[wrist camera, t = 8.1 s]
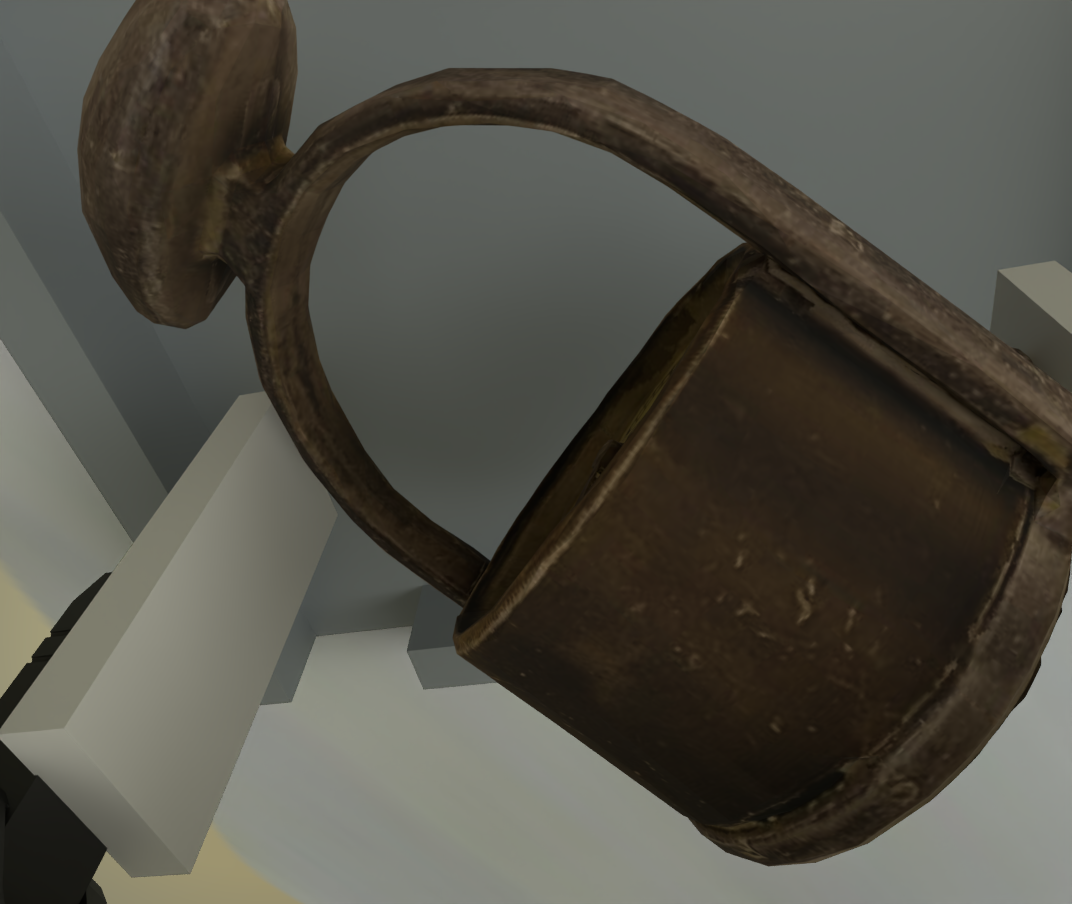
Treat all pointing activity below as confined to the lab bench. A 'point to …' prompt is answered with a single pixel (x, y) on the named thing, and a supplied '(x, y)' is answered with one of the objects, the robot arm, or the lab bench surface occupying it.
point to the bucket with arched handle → (650, 444)
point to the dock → (518, 238)
